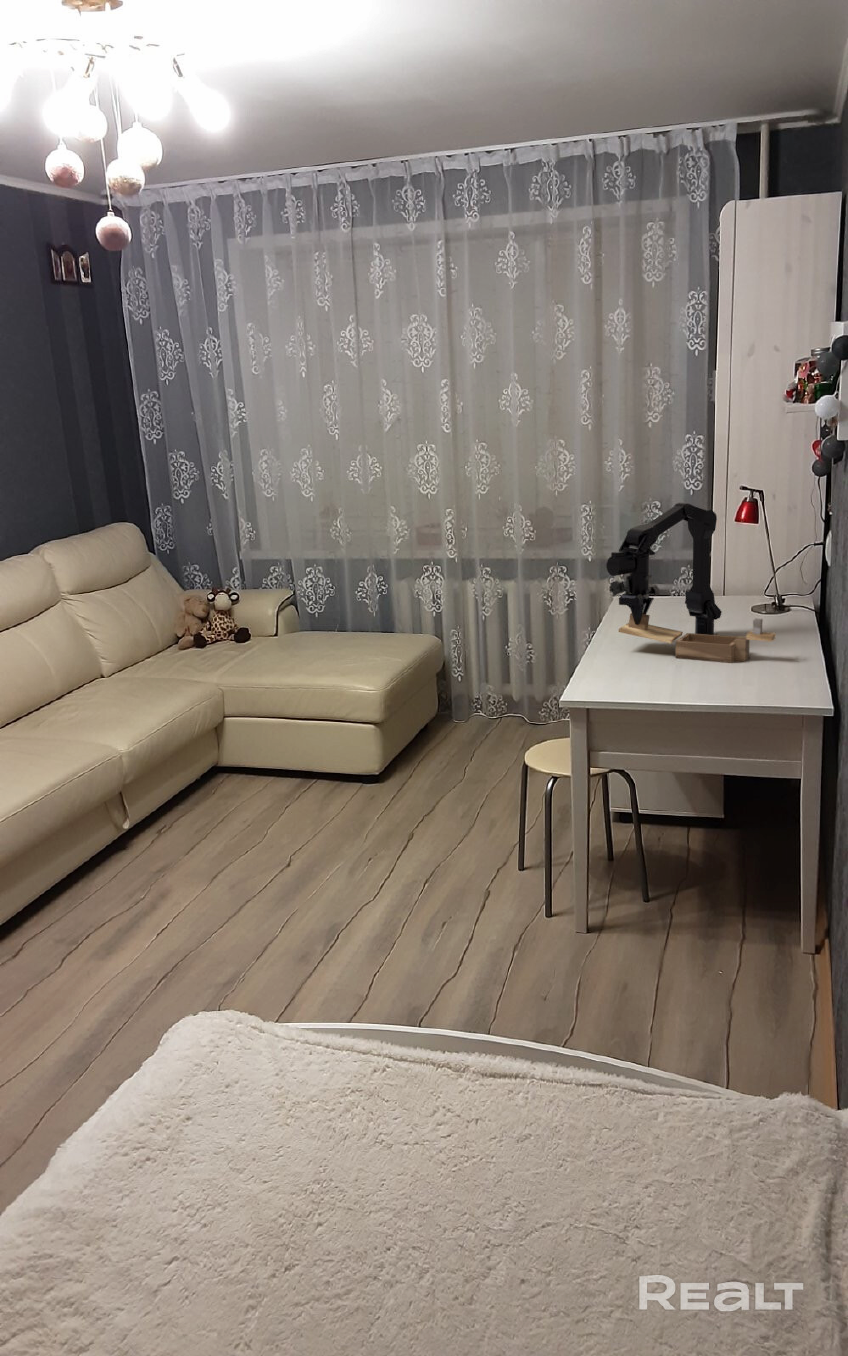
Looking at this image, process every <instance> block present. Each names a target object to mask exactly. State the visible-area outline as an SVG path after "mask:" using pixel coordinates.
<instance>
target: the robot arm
mask: <svg viewBox="0 0 848 1356" xmlns="http://www.w3.org/2000/svg"><path fill="white" fill-rule="evenodd" d="M717 517H718V515H717V514H716V512H714V510H712V509H705V508H700V507H698V506H695V505H692V504H690V503H686V502H678V503H676V504H674V506H673V507H671V508H670V509H668V510H666V511H665V512H663V513H662V514H660V515H659V516H657V517H656V518H655V519H653V520H651V521H649V522H647V523H644V524H640V525H637V526H634V527H631V528H630V529H629V530H627V532H626V536H625V538H624V540H623V542H622V543H621V545H620V547H619V549H618V551H612V552H611V553H610V556H609V558H608V559H607V562H606V566H605V567H606V571H607V572H608V574H609V575H610V576H612V577H616V576H617V577H618V576H622V575H626V574H628V575H626V578H625V579H624V580H620V581H618V580H615V581H612V582H610V586H608V587H609V592H611V593H612V596H617V595H618V594H622V593H624V594H622V595H620V596H619V598H618V605H620V606H627V607H628V608H629V609H630V611H631V613H632V615H633V619H634V622H635V624H636V625H639V623H640V621H641V618H642V615H643V614H646V615H648V611H649V609H650V607H651V605H652V604H653V601H654V598H655V597H656V596H658V595H659V593H660V588H659V586H658V585H656V584H650V579H651V578H652V573H650V556H654V555H656V552H655V551H654V550H653V549H652V547H653V545H654V544H656V543H657V541H658V538H659V537H660V536H661V535H662V534H663V533H665V532H666V531H668V530H670V529H671V528H673V527H674V526H676V525H677V524H678V523H680V522H682V521H685V522H687V528H688V531H689V533H690V535H691V537H692V540H693V541H692V584H691V586H690V589H689V590H685V593H684V594H685V601H684V604H685V605H686V609H687V610H688V611H687V612H688V614H689V615H688V616H690V617H695V623H694V624H695V625H694V634H706V635H718V632H715V621H716V620H718V619H721V617H722V613H723V612H722V610H721V609H720V608H719V606H718V605H717V604H716V601H715V599H716V598H715V593H714V592H713V590H712V588H711V584H710V562H711V561H710V559H711V557H710V556H711V555H710V553H711V552H710V551H711V538H712V536H713V534H715V531H716V527H717V520H718V518H717ZM650 595H653V596H655V597H651V596H650Z"/></svg>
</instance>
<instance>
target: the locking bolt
mask: <svg viewBox="0 0 848 1356" xmlns="http://www.w3.org/2000/svg"><path fill="white" fill-rule="evenodd" d="M763 620H764V619H763V618H756V617H755V618H754V619H753V620H752V630H750V631H749V632H747V633H746V637H747V638H746V639H747V640H750V641H762V642H773V641H774V640H775V639H776V632H768V631H767V632H766V631H763V624H764V622H763Z"/></svg>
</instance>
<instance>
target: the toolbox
mask: <svg viewBox="0 0 848 1356" xmlns="http://www.w3.org/2000/svg"><path fill="white" fill-rule="evenodd" d="M746 638H747V636H741V635H739V636H731V635H729V636H728V635H718V634H717V635H706V634H695V633H693V632H692V633H691V632H687V633H685V634H683V635H682V636H680V637H679V638H677V639H676V640H675V656H674V657H675V659H680V660H681V659H683V660H693V661H705V662H717V663H728V664H731V663H733V662H735V661H736V662H746V661H747V660H748V659H749V658H750V645H751V643H750V641H751V640H747V639H746Z"/></svg>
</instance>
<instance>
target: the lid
mask: <svg viewBox="0 0 848 1356" xmlns="http://www.w3.org/2000/svg"><path fill="white" fill-rule="evenodd" d="M649 620H650V614H643V615H642V618H641V621H640V623H639V625H636V624H635V622H634V619H633V615H632V612H631V613H630V614H629V620H628V623H626V624H624V625H622V626H621V627H619V628H618V633H622V634H625V635H631V636H635V637H640V638H644V639H649V640H652V641H653V640H654V641H657V642H663V643H667V644H672V643H673V642H676V641H677V640H678V639H680V638H681V637H682V636H683V634H684V633H683V631H681V630H676V629H671V628H666V627H663V626H658V625H653V624H649V623H650V621H649Z"/></svg>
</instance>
